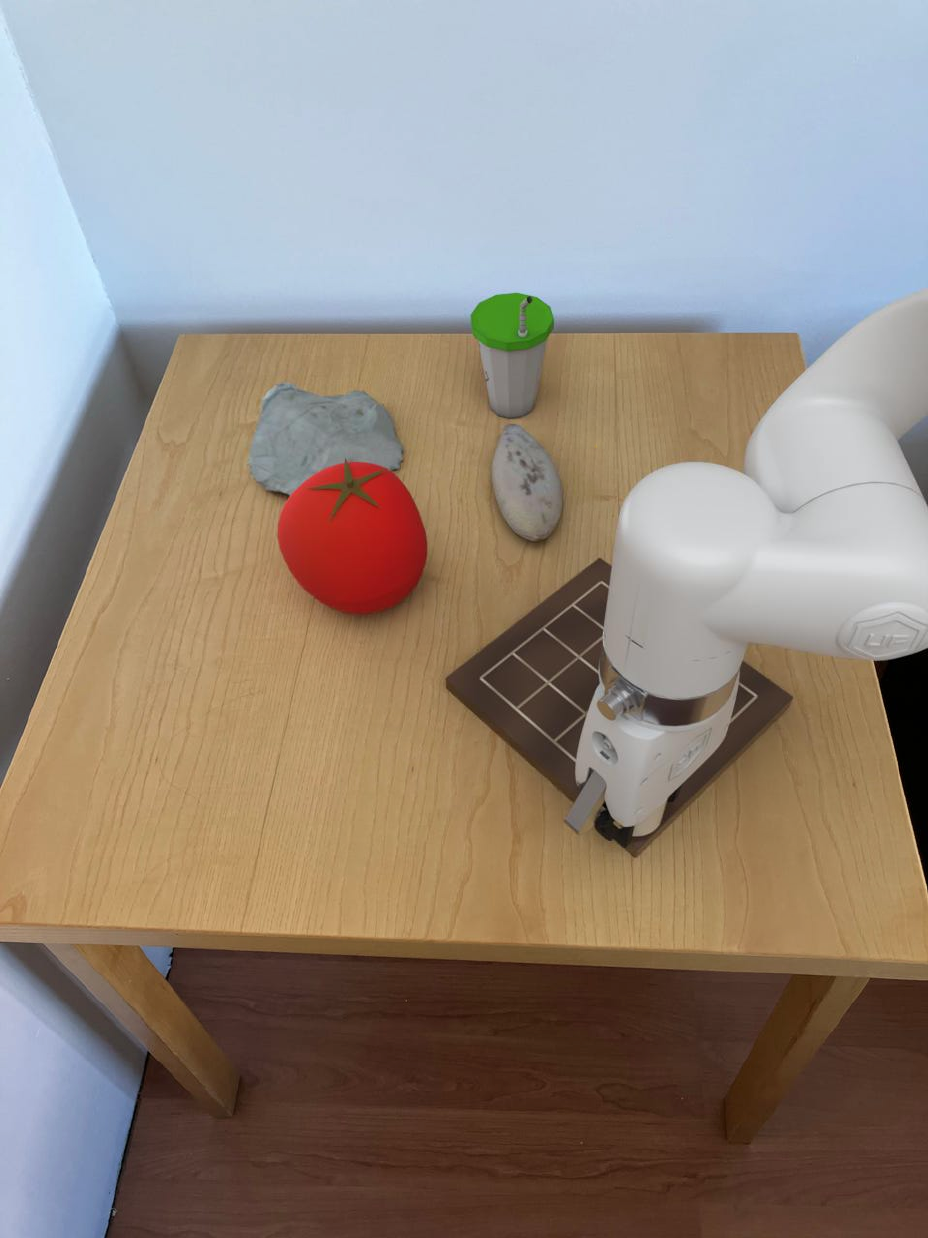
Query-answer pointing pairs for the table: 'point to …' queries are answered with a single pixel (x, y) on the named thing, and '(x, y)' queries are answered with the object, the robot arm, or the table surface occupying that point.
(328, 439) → the stone
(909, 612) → the robot arm
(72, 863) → the table surface
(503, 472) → the decorative stone
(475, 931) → the table surface
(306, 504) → the tomato
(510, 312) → the cup
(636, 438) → the table surface
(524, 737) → the board
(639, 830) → the white canister
